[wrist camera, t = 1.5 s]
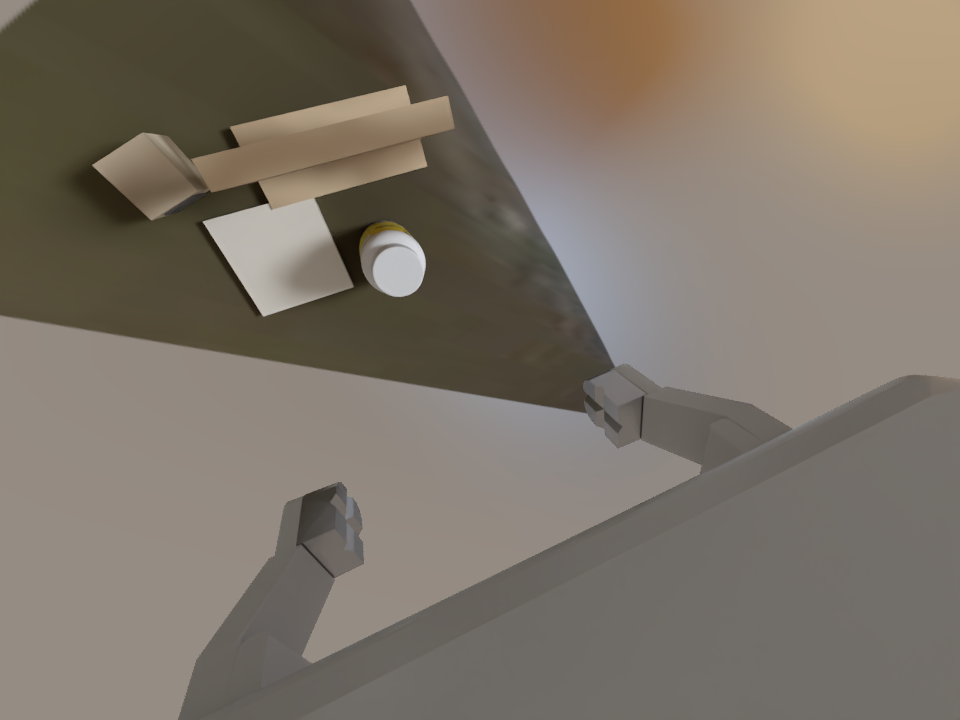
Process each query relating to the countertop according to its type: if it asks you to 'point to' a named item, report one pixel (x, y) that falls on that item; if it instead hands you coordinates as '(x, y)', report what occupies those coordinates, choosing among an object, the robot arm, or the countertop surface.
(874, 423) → the robot arm
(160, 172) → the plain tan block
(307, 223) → the coaster
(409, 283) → the supplement bottle
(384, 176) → the tan t-shaped stand
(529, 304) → the countertop surface
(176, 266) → the countertop surface
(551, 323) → the countertop surface
